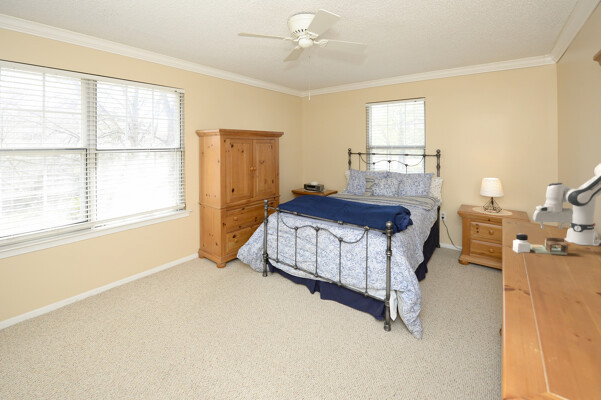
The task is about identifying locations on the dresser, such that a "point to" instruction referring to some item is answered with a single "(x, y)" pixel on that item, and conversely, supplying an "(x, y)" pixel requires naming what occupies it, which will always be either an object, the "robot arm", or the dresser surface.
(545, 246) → the block
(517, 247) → the medicine bottle
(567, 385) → the dresser surface
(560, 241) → the brown wooden piece
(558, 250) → the board
